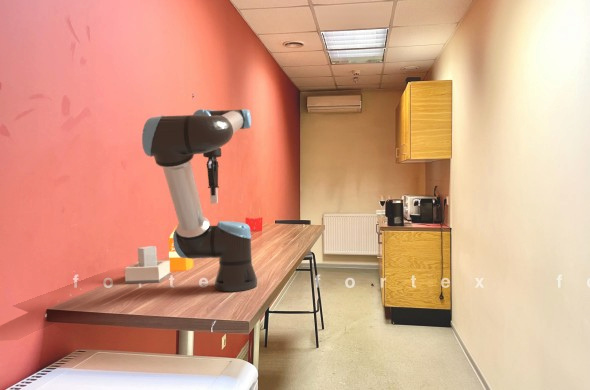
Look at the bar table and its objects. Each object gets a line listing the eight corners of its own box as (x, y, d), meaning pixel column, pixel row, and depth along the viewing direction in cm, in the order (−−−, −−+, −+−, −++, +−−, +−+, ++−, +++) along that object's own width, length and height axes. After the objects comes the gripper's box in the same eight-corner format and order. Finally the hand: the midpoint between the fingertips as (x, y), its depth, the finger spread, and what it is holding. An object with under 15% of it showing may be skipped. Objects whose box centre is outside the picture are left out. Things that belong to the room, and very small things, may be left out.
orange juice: (193, 266, 178) (191, 223, 177) (186, 270, 169) (184, 225, 169) (177, 266, 179) (175, 223, 178) (169, 271, 170) (167, 225, 169)
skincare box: (152, 274, 159) (150, 245, 159) (158, 275, 157) (156, 246, 156) (138, 277, 154) (137, 247, 154) (144, 278, 152) (143, 248, 151)
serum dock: (159, 282, 149) (158, 267, 149) (125, 283, 149) (124, 268, 149) (170, 274, 162) (169, 260, 162) (139, 275, 162) (138, 261, 162)
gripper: (217, 145, 157) (220, 203, 157) (223, 148, 170) (225, 202, 170) (199, 146, 157) (201, 204, 157) (206, 149, 170) (208, 202, 170)
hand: (214, 203), depth 164 cm, fingers closed
